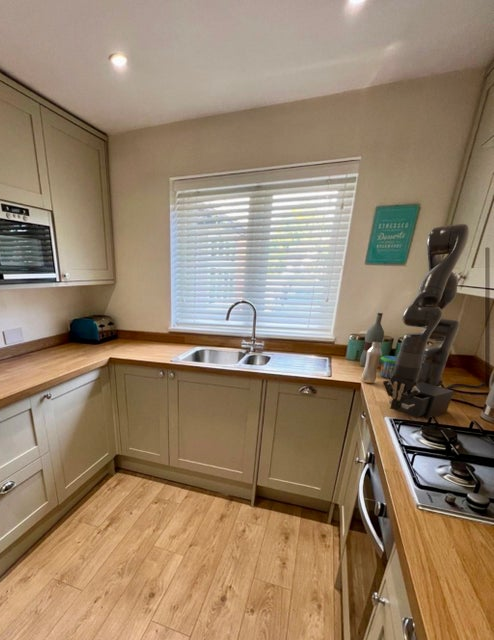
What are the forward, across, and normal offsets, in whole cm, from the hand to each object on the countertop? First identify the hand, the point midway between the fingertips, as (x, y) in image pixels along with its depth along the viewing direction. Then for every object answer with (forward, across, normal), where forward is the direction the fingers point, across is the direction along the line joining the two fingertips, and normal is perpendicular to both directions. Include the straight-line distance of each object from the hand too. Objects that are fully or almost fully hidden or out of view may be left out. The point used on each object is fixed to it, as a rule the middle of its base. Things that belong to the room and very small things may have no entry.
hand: (394, 408), depth 123 cm
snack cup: (+4, +33, -50) cm, 60 cm away
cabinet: (+4, 0, -19) cm, 20 cm away
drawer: (+3, 0, -10) cm, 10 cm away
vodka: (+4, +52, -60) cm, 80 cm away
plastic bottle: (+4, +32, -31) cm, 45 cm away
